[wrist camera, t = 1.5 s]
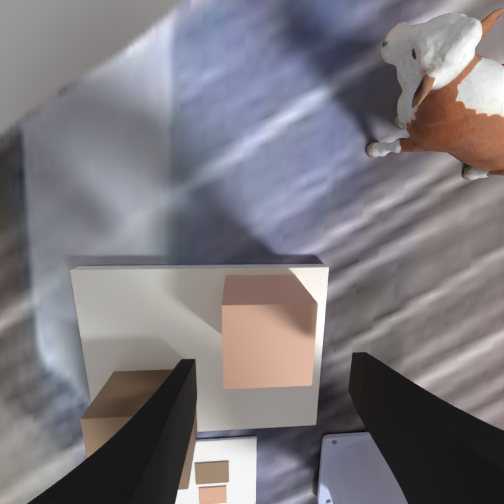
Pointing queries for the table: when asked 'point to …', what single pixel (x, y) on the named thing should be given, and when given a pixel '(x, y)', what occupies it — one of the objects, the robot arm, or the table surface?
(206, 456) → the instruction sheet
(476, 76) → the bull figurine
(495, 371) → the table surface
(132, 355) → the base plate
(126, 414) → the walnut block
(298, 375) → the terracotta block
